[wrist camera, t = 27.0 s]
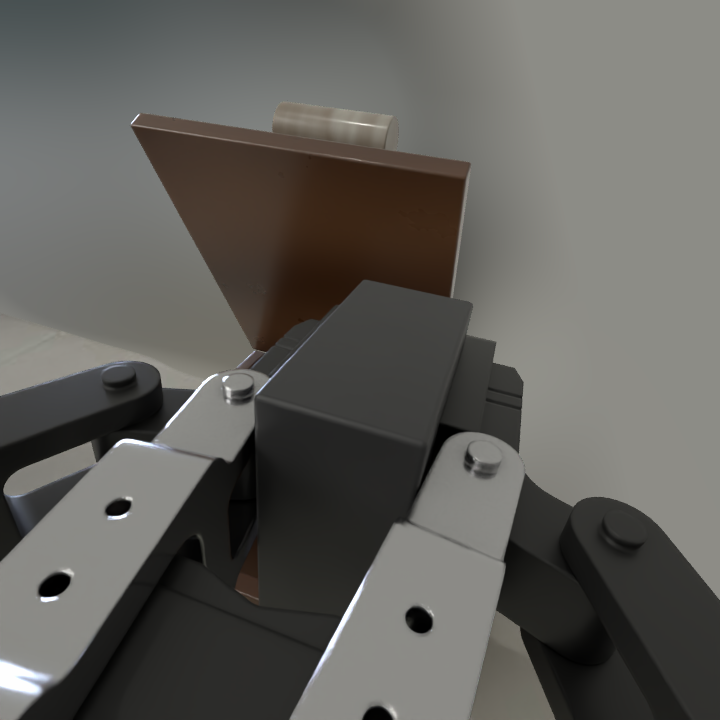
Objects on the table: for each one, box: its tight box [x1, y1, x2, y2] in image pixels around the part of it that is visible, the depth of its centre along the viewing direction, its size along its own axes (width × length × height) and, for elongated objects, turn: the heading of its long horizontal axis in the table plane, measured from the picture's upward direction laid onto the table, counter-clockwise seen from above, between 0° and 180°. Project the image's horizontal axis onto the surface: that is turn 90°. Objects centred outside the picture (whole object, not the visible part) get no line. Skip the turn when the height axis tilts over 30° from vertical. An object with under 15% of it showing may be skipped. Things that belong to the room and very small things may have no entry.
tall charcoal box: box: [254, 280, 473, 618], centre depth 10 cm, size 2×5×8 cm, turn 161°
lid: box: [131, 102, 471, 352], centre depth 25 cm, size 16×13×5 cm
